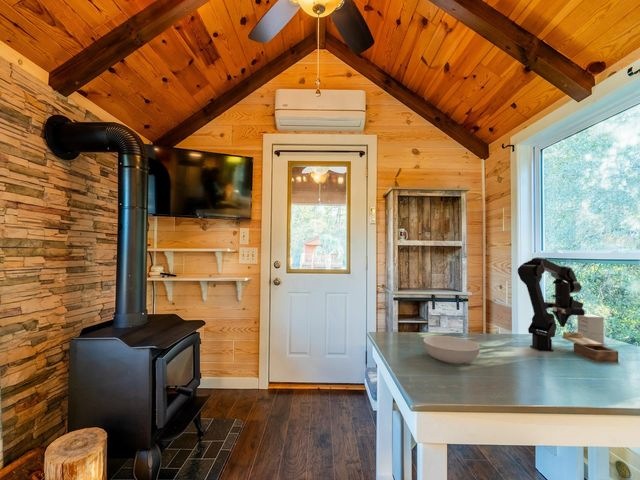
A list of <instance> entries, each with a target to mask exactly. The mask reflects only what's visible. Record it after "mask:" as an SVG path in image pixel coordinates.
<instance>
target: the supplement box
mask: <svg viewBox="0 0 640 480" xmlns="http://www.w3.org/2000/svg"><path fill="white" fill-rule="evenodd" d="M576 316H577V317H576V318H577V321H576V323H577V333H583V337H584V338H587V339H590V340H593V341H596V342H599V343H602V344H605V343H604V342H605V341H604V340H605V339H604V338H605V337H604V335H605V332H604V330H605V329H604V317H603V316H601V315H597V314H591V313H589V314H587V313H585V315H576Z"/></svg>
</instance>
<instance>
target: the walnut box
mask: <svg viewBox="0 0 640 480" xmlns="http://www.w3.org/2000/svg"><path fill="white" fill-rule="evenodd" d="M573 353H574V354H575V355H578V356H580V357H582V358H585V359H588V360H589V361H592V362H595V363H619V351H618V350H615V349H612V348H609V347H606V346H605V345H604V346H589V345H580V344H577V343H574V342H573Z"/></svg>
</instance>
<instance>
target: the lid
mask: <svg viewBox="0 0 640 480" xmlns="http://www.w3.org/2000/svg"><path fill="white" fill-rule="evenodd" d="M562 333H563V335H562V337H561V338H562V340H563V339H564V340H566V341H569V342H572V343H573V344H574V343H577V344H580V345H589V346H604V347H605V345H604V344H605V343H599V342H596V341H593V340H590V339H587V338H584V337H583V333H578V332H562Z"/></svg>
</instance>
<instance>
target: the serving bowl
mask: <svg viewBox="0 0 640 480" xmlns="http://www.w3.org/2000/svg"><path fill="white" fill-rule="evenodd" d="M422 342H423V347H424V349H425V351H426V352H427V353H428V354H429V356H431V357H433V358H434V359H436V360H439V361H441V362H445V363H449V364H465V363H471V362H472V361H474V360H475V359H476V358H477V357H478V356H479V353H480V352H481V351H480V349H481V346H480V344H478V343H477V342H474V341H472V340H469V339H465V338H461V337H458V336H457V337H455V336H449V335H430V336H429V335H428V336H426V337H424V338H423V341H422Z"/></svg>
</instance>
